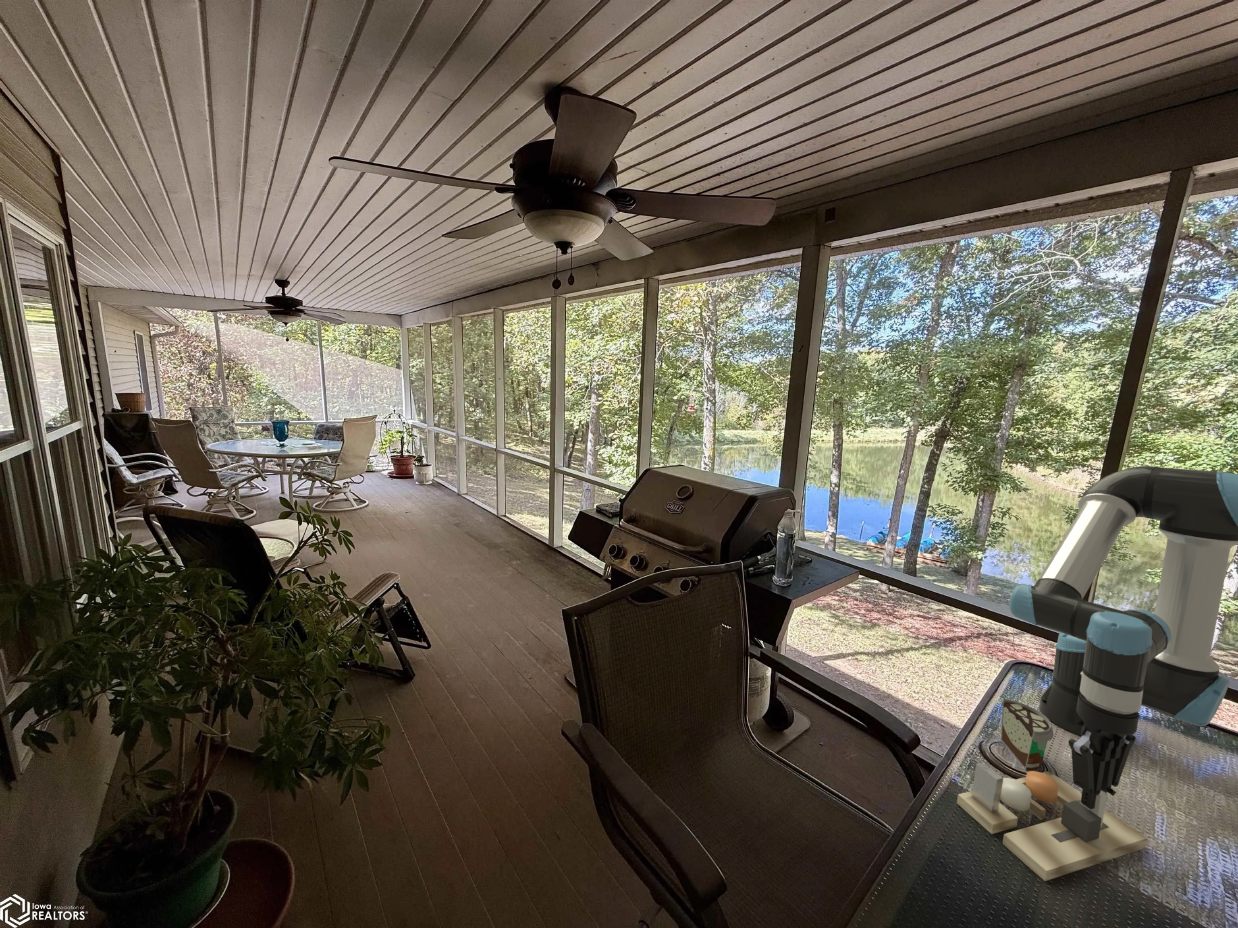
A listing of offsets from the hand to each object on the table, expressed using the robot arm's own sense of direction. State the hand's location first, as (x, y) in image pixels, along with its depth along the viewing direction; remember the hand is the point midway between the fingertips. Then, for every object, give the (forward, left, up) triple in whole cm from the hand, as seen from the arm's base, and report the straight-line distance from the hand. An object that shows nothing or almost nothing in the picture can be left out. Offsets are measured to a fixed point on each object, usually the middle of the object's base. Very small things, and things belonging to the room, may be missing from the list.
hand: (1090, 820), depth 88 cm
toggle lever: (+13, -9, -2) cm, 16 cm away
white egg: (+7, -8, -2) cm, 11 cm away
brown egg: (0, -8, -2) cm, 8 cm away
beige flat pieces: (+4, -4, -4) cm, 7 cm away
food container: (-11, -18, -4) cm, 22 cm away
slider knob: (+2, 0, -2) cm, 3 cm away
